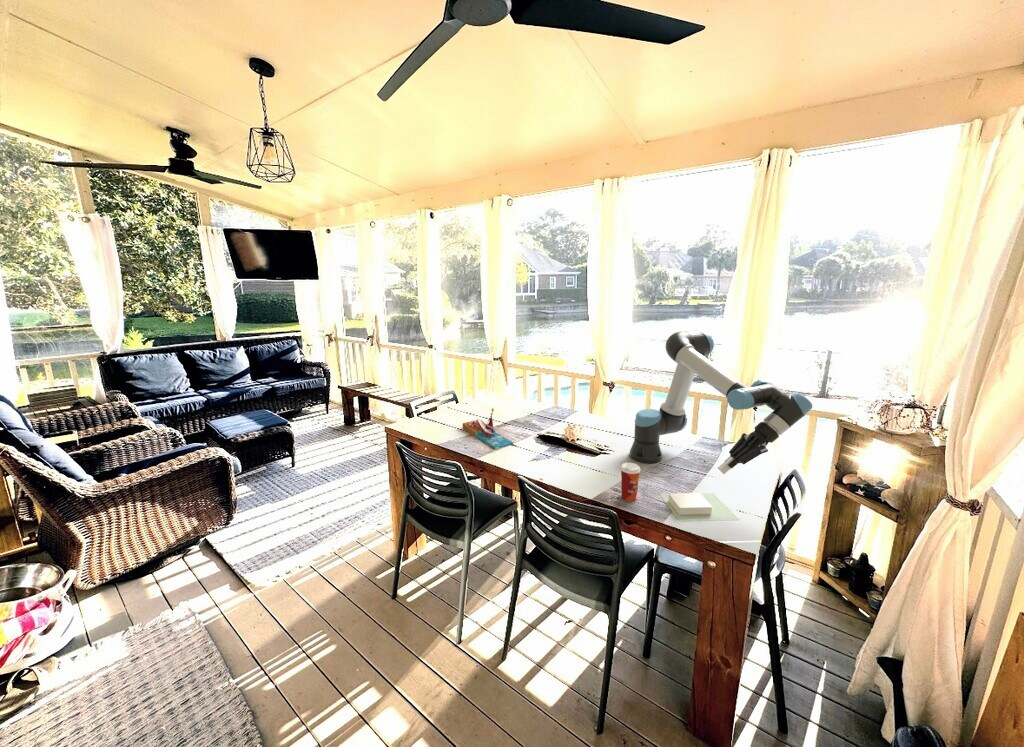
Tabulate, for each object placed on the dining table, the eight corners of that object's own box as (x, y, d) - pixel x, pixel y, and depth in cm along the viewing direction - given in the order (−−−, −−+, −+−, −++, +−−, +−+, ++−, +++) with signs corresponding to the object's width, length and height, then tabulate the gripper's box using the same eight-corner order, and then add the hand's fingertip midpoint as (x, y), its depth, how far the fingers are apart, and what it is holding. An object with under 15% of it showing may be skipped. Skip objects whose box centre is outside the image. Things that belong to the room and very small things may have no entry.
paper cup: (633, 505, 155) (635, 472, 152) (615, 498, 160) (617, 466, 157) (642, 497, 161) (644, 465, 158) (624, 491, 166) (626, 460, 163)
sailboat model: (495, 450, 210) (495, 419, 206) (462, 430, 240) (461, 403, 236) (513, 445, 216) (513, 415, 213) (479, 426, 246) (479, 400, 243)
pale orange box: (698, 500, 157) (668, 501, 157) (699, 492, 156) (668, 493, 156) (711, 514, 147) (679, 515, 147) (712, 506, 147) (679, 507, 147)
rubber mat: (659, 495, 162) (659, 493, 162) (712, 494, 163) (712, 492, 163) (679, 522, 144) (679, 521, 144) (739, 521, 144) (739, 519, 144)
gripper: (789, 442, 140) (736, 486, 143) (765, 428, 152) (718, 469, 156) (776, 428, 138) (723, 473, 142) (753, 415, 151) (705, 457, 155)
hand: (720, 471), depth 149 cm, fingers closed
